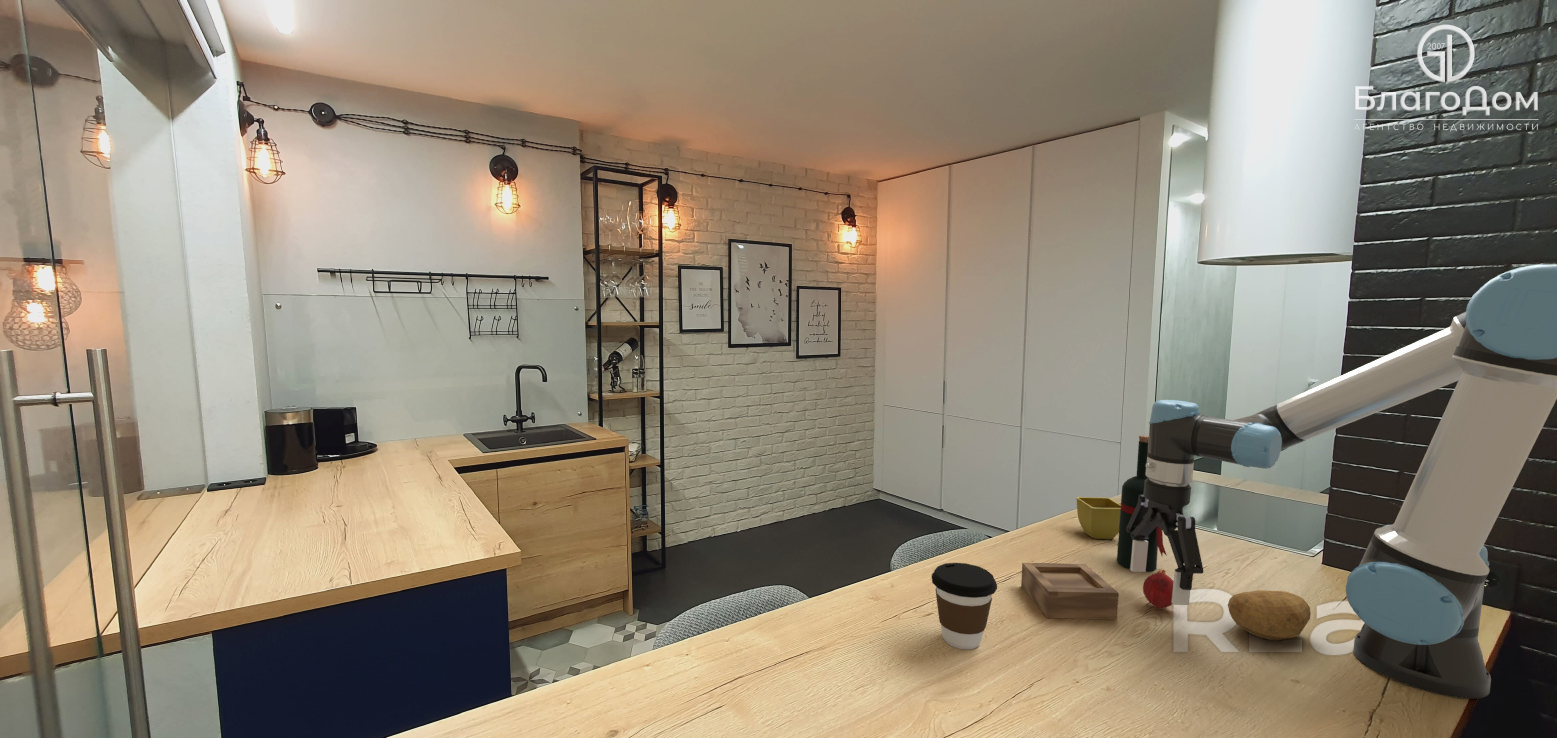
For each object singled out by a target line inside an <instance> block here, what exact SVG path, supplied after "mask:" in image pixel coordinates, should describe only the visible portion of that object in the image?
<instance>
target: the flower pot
mask: <svg viewBox="0 0 1557 738" xmlns="http://www.w3.org/2000/svg"><path fill="white" fill-rule="evenodd" d="M1076 508H1077V509H1076V510H1077V518H1078V522H1079V524H1080V526H1081V529H1082V530H1083V532H1084V533H1085V534H1087V535H1088V536H1090V537H1091V538H1092V539H1096V540H1097V539H1099V540H1100V539H1101V540H1112V539H1115V537H1116V536H1117V535H1119V523H1120V509H1121V503H1119V502H1117V501H1115V500H1113V499H1111V498H1110V497H1098V496H1097V497H1093V496H1091V497H1090V496H1089V497H1087V496H1085V497H1083V496H1077V497H1076Z"/></svg>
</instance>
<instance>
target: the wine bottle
mask: <svg viewBox="0 0 1557 738" xmlns="http://www.w3.org/2000/svg"><path fill="white" fill-rule="evenodd" d="M1138 439H1139V440H1138V446H1137V447H1138V448H1137V451H1138V452H1137V462H1136V463H1137V465H1136V475H1135V476H1132V477H1130V478H1128V479H1127V480H1126V481H1124V483H1123V484H1122V486H1121V496H1120V497H1121V498H1120V505H1121V509H1120V523H1119V533H1118V536H1117V537H1118V539H1117V540H1118V541H1117V553H1116V562H1117V564H1118V565H1119V566H1122V567H1123V568H1126V569H1128V570H1130V567H1131V556H1132V541H1133V539H1132V538H1131V533H1129V532H1127V531H1126V527H1127V525H1128V523H1129V521H1130V519H1131V516H1132V514H1133V512H1134V510H1135V508H1136V506H1137V503H1138V497H1139V495H1144V483H1145V480H1146V479H1147V478H1148V477H1147V476H1146V463H1147V452H1148V442H1149V435H1138ZM1134 527H1136V526H1134ZM1163 536H1164V533H1163V530H1161V529H1160V528H1159V527H1158V526H1157V527H1156V528H1155V529H1154V530H1153V531H1152V532H1151V533H1150V534H1149V535H1148V538H1149V539H1143V540H1146V541H1148V550H1147V561H1146V572H1145V573H1149V572H1150V573H1152V572H1154V571H1156V570H1157V566H1158V553H1159V552H1160V555H1161V557H1163V555H1165V556H1167V555H1168V554H1167V552H1166V549H1165V546H1164V539H1163V538H1164V537H1163ZM1158 551H1159V552H1158Z"/></svg>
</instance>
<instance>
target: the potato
mask: <svg viewBox="0 0 1557 738" xmlns="http://www.w3.org/2000/svg"><path fill="white" fill-rule="evenodd" d="M1227 608H1228V612H1229V615H1230V617H1231V619H1232V620H1233V621H1234V623H1235V624H1236V626H1238V627H1239V628H1241V629H1242V630H1244V631H1246V632H1247V633H1250V634H1251V635H1253V636H1256V637H1258V638H1262V639H1264V640H1271V641H1279V640H1281V641H1282V640H1288V639H1293V638H1296V637H1298V636H1299V635H1301V634H1302V632H1303V630H1305V627H1306V625H1308V623H1309V621H1310V620H1311V614H1312V613H1311V607H1310V605H1309V603H1308V602H1307V601H1306V600H1305V599H1304V598H1303V597H1301V596H1299V595H1297V594H1294V593H1291V592H1290V591H1285V590H1261V589H1260V590H1259V589H1258V590H1252V591H1243V592H1239V593H1236V594H1234V595H1232V596H1231V597H1230V598H1229V601H1228V603H1227Z"/></svg>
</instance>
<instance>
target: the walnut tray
mask: <svg viewBox="0 0 1557 738" xmlns="http://www.w3.org/2000/svg"><path fill="white" fill-rule="evenodd" d="M1020 584H1021V585H1020V587H1021V589H1023V590H1024V592H1025V594H1027V595H1028V596H1029V598H1030V599H1031V600H1032V601H1033V602H1034V603H1035V605H1036V606H1037V607H1038V608H1039V610H1041V612H1042V613H1043V615H1044V616H1045V617H1046V618H1047V619H1084V620H1085V619H1087V620H1118V612H1119V611H1118V609H1119V594H1120V592H1118V590H1117V589H1115V588H1114V587H1113V586H1112V585H1110V584H1109V583H1108V582H1107V581H1105V580H1104V578H1102V577H1101V576H1100V575H1099V574H1097V573H1096V572H1095V571H1094V570H1093V569H1092V568H1090V567H1089V566H1088V565H1087V564H1086V563H1054V562H1050V563H1049V562H1044V563H1043V562H1022V563H1021V580H1020Z"/></svg>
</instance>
